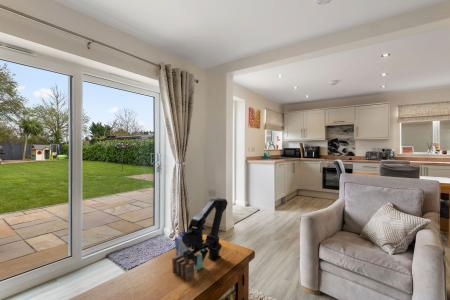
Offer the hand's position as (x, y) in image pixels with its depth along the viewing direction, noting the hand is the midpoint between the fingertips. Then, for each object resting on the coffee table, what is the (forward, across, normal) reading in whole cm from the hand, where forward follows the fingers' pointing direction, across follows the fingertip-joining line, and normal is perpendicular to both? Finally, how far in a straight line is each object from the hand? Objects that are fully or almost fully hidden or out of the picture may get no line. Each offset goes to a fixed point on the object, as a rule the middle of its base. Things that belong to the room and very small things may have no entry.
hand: (198, 264), depth 130 cm
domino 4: (+3, +10, +5) cm, 11 cm away
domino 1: (+3, +10, -9) cm, 13 cm away
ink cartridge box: (+3, -5, -23) cm, 24 cm away
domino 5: (+3, 0, 0) cm, 3 cm away
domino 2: (+3, +10, -4) cm, 11 cm away
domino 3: (+3, +10, 0) cm, 10 cm away
